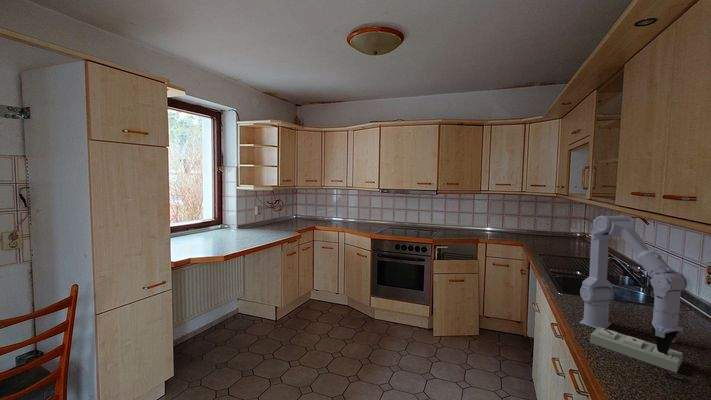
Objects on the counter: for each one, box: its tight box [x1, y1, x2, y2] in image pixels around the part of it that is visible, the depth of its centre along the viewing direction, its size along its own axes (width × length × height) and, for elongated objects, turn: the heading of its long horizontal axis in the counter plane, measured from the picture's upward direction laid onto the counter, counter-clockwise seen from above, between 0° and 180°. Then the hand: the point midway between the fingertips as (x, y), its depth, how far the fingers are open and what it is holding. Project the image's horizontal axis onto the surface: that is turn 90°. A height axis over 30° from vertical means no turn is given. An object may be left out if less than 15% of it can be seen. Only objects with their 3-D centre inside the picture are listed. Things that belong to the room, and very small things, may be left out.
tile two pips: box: [652, 347, 673, 358], centre depth 103 cm, size 4×4×2 cm
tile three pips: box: [599, 328, 619, 340], centre depth 114 cm, size 4×4×2 cm
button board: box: [589, 327, 684, 374], centre depth 109 cm, size 9×22×3 cm, turn 38°
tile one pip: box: [624, 335, 645, 349], centre depth 109 cm, size 4×4×2 cm
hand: (662, 351), depth 103 cm, fingers closed, pressing on tile two pips
